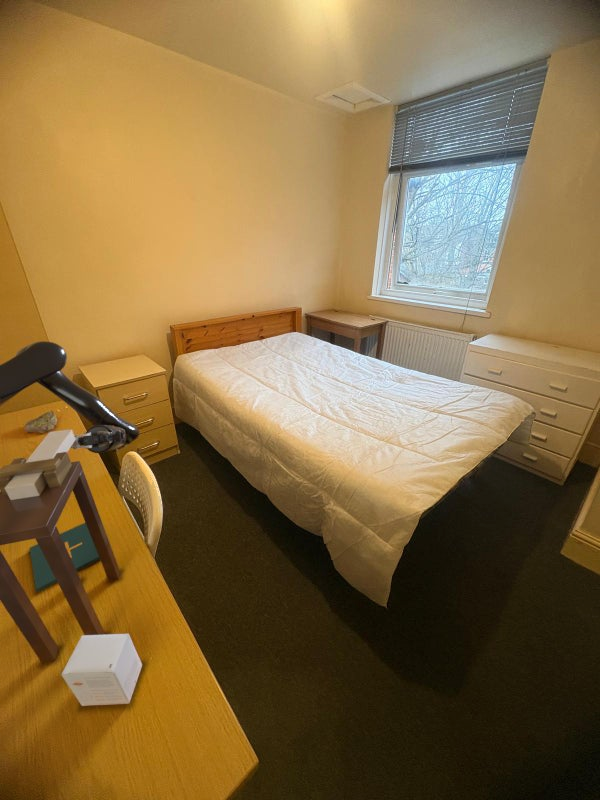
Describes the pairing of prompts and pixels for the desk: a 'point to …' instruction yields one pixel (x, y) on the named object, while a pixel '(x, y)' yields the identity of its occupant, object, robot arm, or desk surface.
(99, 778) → the desk surface
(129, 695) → the small box
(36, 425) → the rock
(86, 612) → the stand
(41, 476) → the stone bar
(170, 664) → the desk surface
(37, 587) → the board
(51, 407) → the desk surface
